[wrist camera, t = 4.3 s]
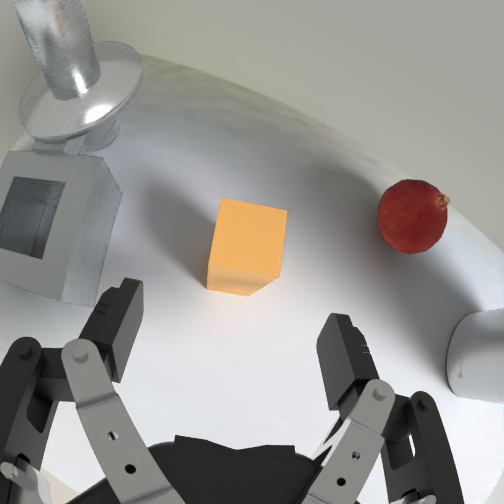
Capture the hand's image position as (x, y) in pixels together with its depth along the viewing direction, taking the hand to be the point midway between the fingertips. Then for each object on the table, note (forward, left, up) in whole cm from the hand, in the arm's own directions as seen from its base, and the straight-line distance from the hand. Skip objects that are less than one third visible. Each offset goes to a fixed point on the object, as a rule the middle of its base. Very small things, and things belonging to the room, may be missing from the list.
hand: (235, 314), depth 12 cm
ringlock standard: (+14, -9, -9) cm, 18 cm away
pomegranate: (-13, -9, -9) cm, 18 cm away
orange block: (0, -3, -9) cm, 9 cm away
